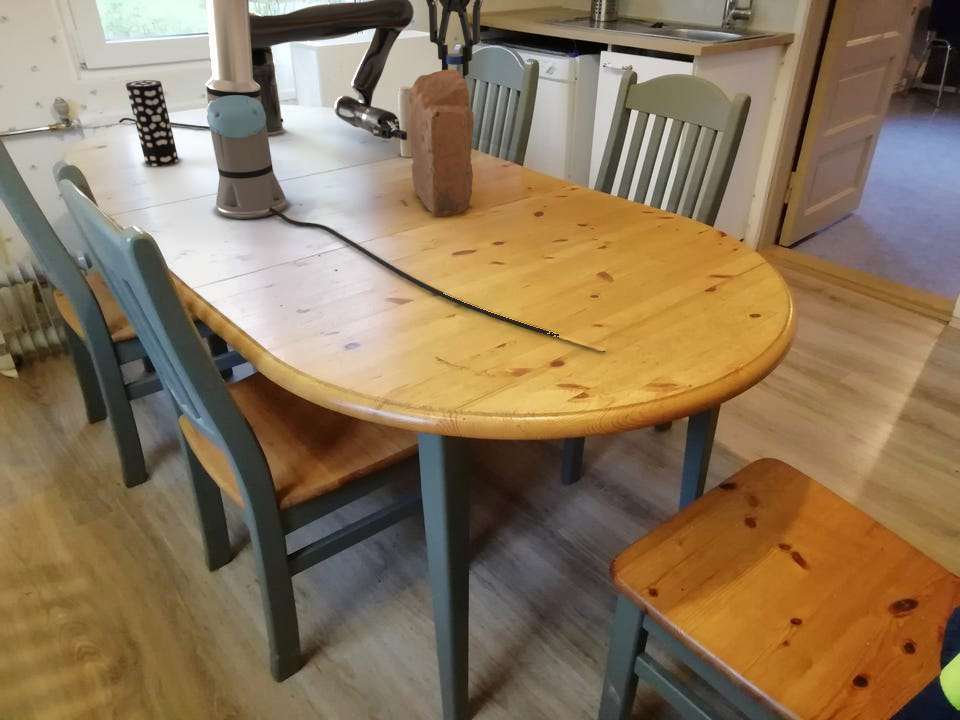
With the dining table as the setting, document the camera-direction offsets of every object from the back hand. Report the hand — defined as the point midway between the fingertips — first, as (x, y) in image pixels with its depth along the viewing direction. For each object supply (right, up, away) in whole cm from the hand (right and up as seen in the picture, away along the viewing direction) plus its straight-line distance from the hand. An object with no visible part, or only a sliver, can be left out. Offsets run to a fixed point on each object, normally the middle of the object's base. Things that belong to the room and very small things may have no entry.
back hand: (412, 134), depth 189 cm
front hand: (+12, +9, -18) cm, 24 cm away
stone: (+10, -24, -26) cm, 37 cm away
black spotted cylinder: (-68, 0, -9) cm, 68 cm away
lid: (+12, +13, -20) cm, 27 cm away
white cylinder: (-2, -4, +5) cm, 7 cm away
